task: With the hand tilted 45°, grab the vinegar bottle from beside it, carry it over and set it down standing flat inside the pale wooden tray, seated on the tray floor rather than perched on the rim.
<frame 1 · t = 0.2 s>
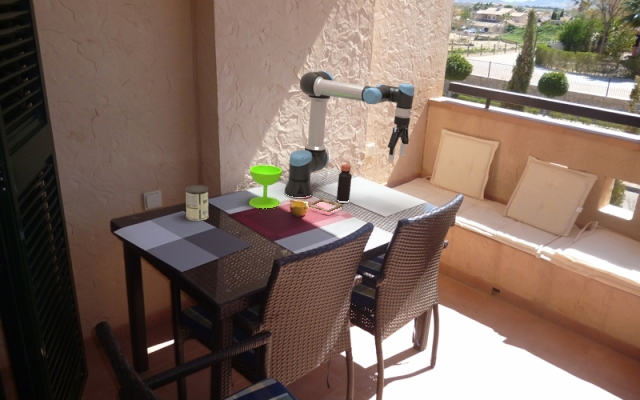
hand: (396, 158, 256), 28 cm above the table, tool pointing down, fingers open, 13 cm apart
wineglass: (264, 203, 262), on the table
vinegar: (342, 202, 273), on the table
coffee can: (197, 217, 239), on the table
tray: (324, 209, 260), on the table
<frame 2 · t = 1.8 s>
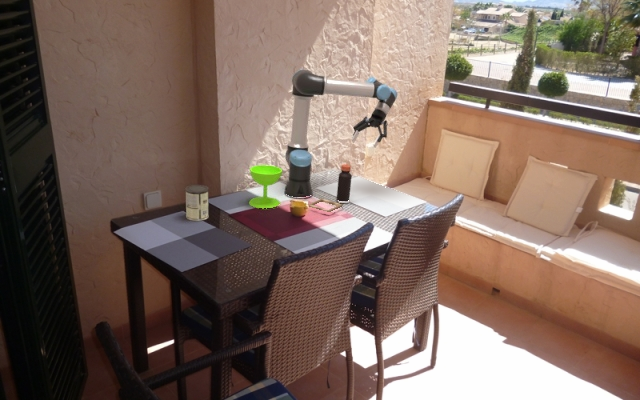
hand: (363, 143, 274), 30 cm above the table, tool tilted 45°, fingers open, 13 cm apart
nothing on the table moved.
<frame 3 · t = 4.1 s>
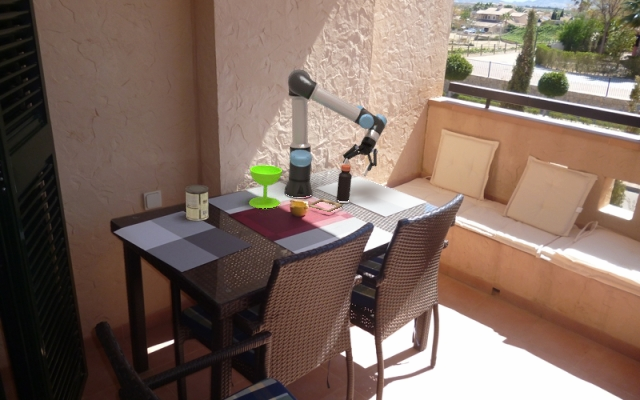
hand: (353, 172, 272), 16 cm above the table, tool tilted 45°, fingers open, 13 cm apart
nothing on the table moved.
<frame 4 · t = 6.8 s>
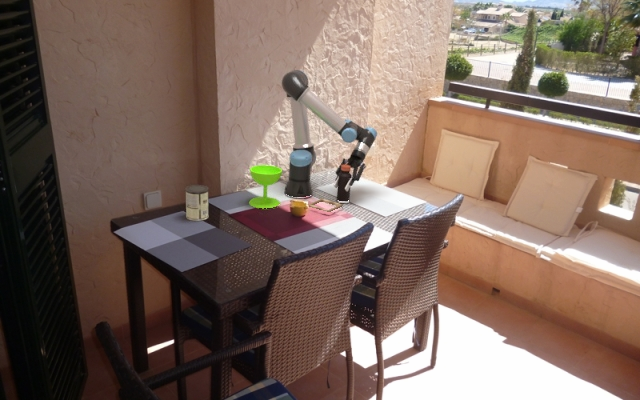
hand: (340, 188, 267), 8 cm above the table, tool tilted 45°, fingers closed on vinegar, 6 cm apart
vinegar: (342, 202, 273), on the table, touching gripper
everything else where it was.
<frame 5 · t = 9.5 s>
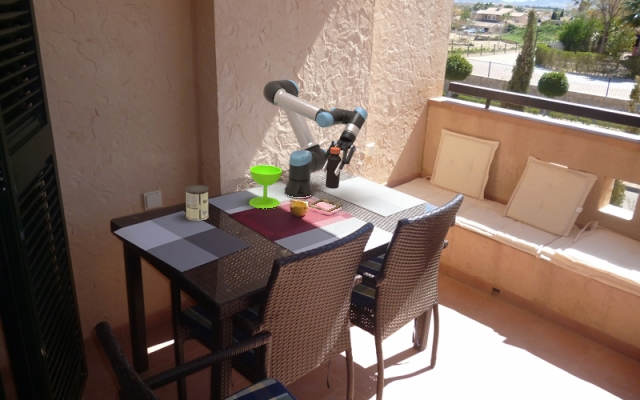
hand: (329, 172, 253), 20 cm above the table, tool tilted 45°, fingers closed on vinegar, 6 cm apart
vinegar: (332, 187, 259), point 11 cm above the table, touching gripper
everything else where it was.
when the fingers open (10 cm above the table, at t = 12.6 s): vinegar stays where it is, resting on tray.
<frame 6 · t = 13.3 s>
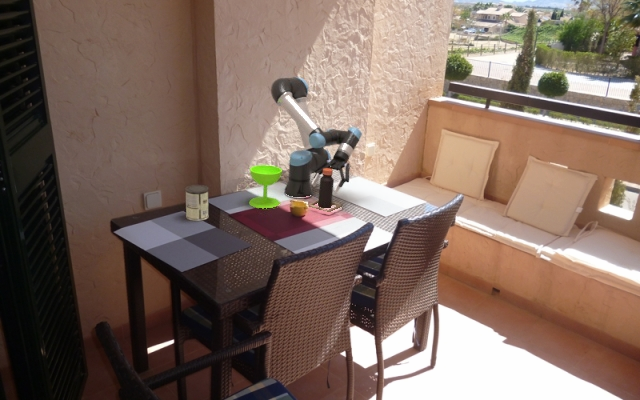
hand: (323, 188, 255), 12 cm above the table, tool tilted 45°, fingers open, 13 cm apart
vinegar: (324, 207, 260), point 1 cm above the table, touching tray
everything else where it was.
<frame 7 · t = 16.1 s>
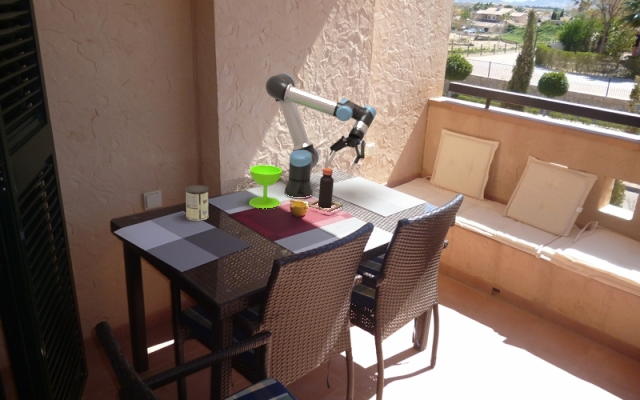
hand: (339, 164, 261), 21 cm above the table, tool tilted 45°, fingers open, 13 cm apart
nothing on the table moved.
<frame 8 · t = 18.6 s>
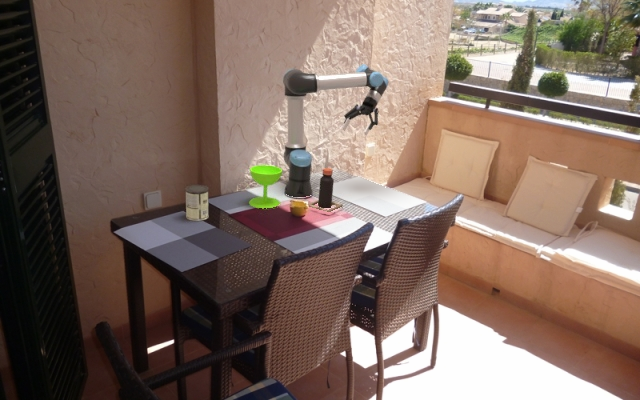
hand: (354, 131, 273), 36 cm above the table, tool tilted 45°, fingers open, 13 cm apart
nothing on the table moved.
at the end: vinegar 0.1 cm off-centre on the tray, point 0.8 cm above the tray's base; vinegar tilted 0°; the gripper is holding nothing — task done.
